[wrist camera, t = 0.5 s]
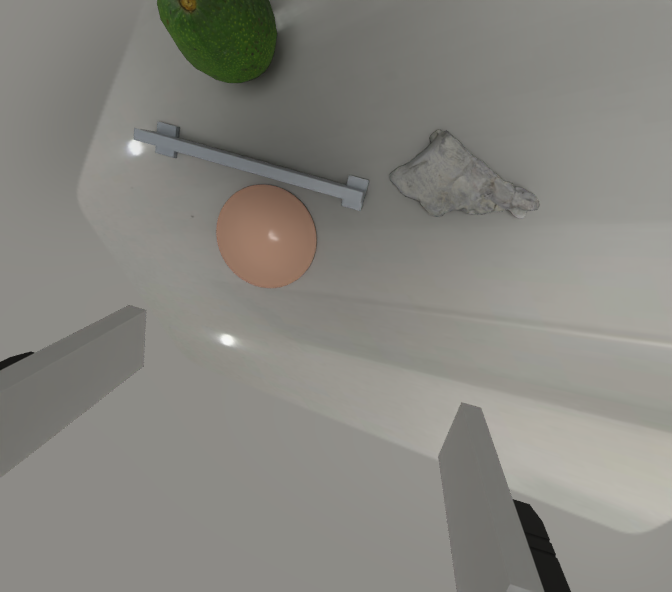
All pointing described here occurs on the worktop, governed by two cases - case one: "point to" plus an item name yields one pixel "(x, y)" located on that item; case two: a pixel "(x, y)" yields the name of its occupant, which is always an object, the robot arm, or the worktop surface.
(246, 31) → the fruit
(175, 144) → the acrylic wall
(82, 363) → the robot arm
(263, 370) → the worktop surface
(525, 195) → the stone
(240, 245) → the saucer
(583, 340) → the worktop surface
